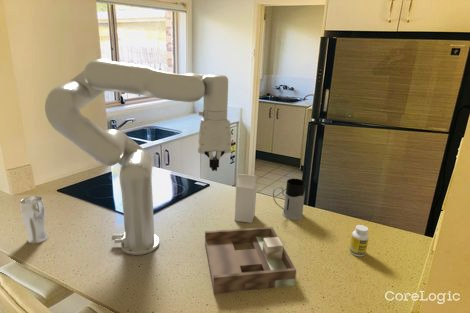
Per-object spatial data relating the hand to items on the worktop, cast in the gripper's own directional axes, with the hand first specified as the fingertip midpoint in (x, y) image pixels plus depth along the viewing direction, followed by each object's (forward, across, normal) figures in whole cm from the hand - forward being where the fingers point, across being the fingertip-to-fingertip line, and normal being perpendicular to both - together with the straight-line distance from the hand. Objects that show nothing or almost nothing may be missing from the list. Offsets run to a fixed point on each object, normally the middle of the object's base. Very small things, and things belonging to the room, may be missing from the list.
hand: (214, 169), depth 109 cm
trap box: (+27, +9, -15) cm, 32 cm away
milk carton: (+27, +15, +14) cm, 34 cm away
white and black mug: (+27, +33, +14) cm, 45 cm away
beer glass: (+27, -60, +8) cm, 66 cm away
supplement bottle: (+27, +49, -14) cm, 58 cm away
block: (+25, +18, -15) cm, 34 cm away
